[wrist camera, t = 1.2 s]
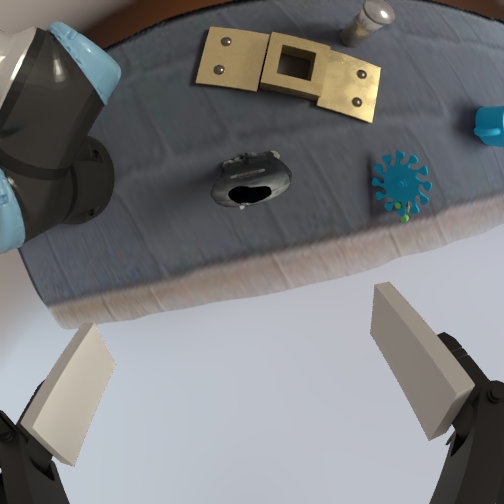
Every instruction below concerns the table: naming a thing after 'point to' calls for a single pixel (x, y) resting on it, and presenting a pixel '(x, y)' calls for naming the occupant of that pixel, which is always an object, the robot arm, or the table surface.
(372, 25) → the hinge pin
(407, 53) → the table surface
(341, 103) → the hinge leaves
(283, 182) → the electronic device
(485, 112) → the mug
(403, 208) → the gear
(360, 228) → the table surface
